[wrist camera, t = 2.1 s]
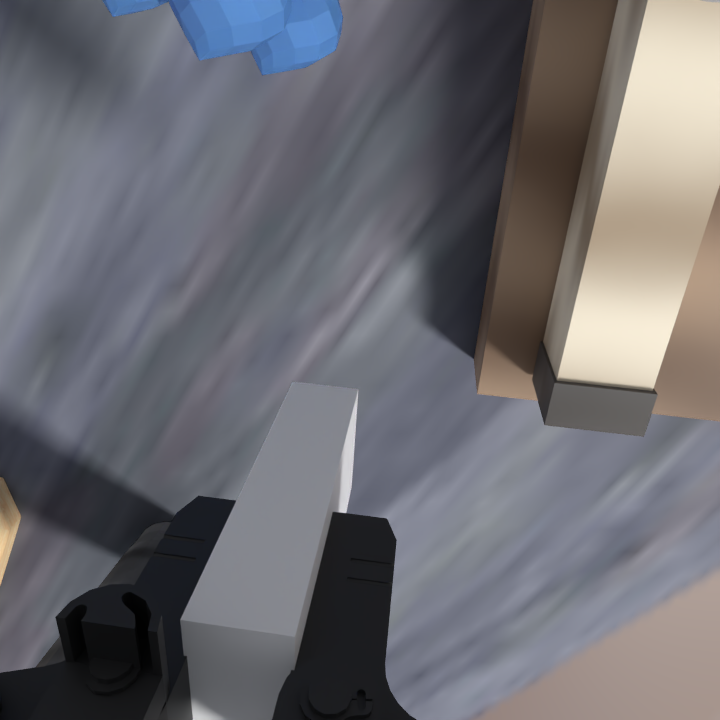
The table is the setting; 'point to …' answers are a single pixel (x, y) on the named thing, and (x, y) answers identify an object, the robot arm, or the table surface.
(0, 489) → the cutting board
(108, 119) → the table surface
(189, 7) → the grapes
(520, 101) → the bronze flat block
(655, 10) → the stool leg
